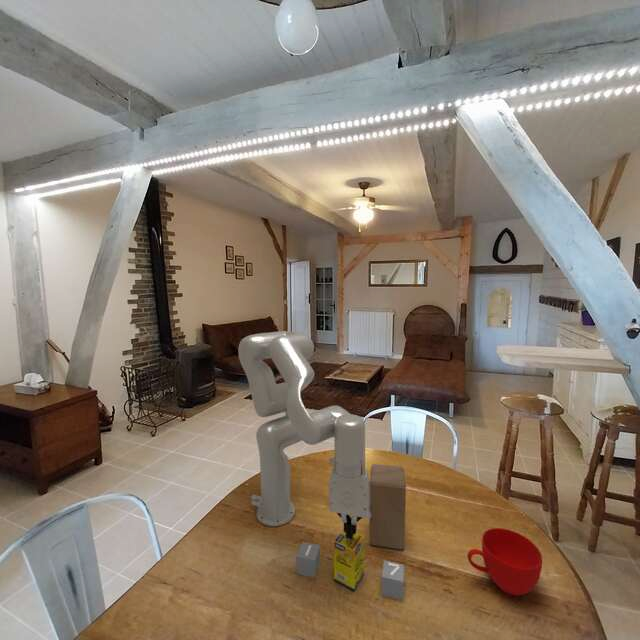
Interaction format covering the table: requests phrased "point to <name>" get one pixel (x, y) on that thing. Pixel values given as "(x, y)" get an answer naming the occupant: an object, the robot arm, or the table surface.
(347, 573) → the supplement box
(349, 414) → the robot arm
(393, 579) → the slate block
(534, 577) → the ceramic cup
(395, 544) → the block
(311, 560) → the slate block
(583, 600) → the table surface
